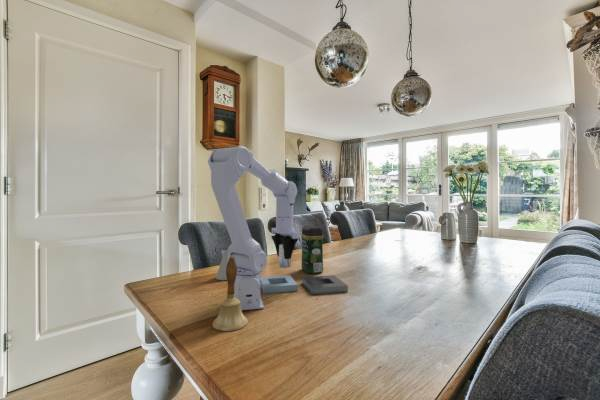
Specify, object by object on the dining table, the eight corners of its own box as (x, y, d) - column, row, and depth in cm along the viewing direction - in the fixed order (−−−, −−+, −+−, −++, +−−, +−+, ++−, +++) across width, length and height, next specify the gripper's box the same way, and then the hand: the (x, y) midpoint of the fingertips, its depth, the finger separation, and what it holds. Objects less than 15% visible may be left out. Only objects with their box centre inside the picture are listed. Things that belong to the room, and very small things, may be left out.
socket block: (347, 291, 92) (347, 285, 92) (312, 294, 89) (312, 288, 89) (333, 280, 103) (334, 275, 103) (302, 282, 100) (302, 277, 100)
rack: (297, 290, 92) (297, 284, 92) (263, 293, 89) (263, 287, 89) (290, 280, 103) (290, 275, 103) (259, 282, 100) (259, 277, 100)
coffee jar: (299, 268, 119) (299, 224, 119) (316, 267, 122) (317, 224, 121) (306, 275, 110) (307, 227, 110) (325, 273, 112) (326, 226, 112)
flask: (237, 275, 108) (238, 249, 108) (231, 281, 101) (232, 253, 101) (219, 275, 109) (219, 249, 109) (212, 280, 102) (212, 252, 102)
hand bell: (233, 313, 75) (233, 252, 74) (255, 322, 69) (255, 257, 69) (205, 324, 68) (205, 257, 68) (226, 335, 63) (226, 263, 63)
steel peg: (291, 267, 94) (291, 244, 94) (279, 267, 94) (279, 245, 94) (289, 264, 98) (290, 242, 98) (278, 265, 98) (278, 243, 97)
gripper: (307, 218, 92) (306, 260, 92) (283, 215, 104) (283, 252, 104) (288, 218, 88) (287, 262, 88) (266, 215, 100) (266, 254, 100)
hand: (284, 257), depth 96 cm, fingers closed on steel peg, 4 cm apart
